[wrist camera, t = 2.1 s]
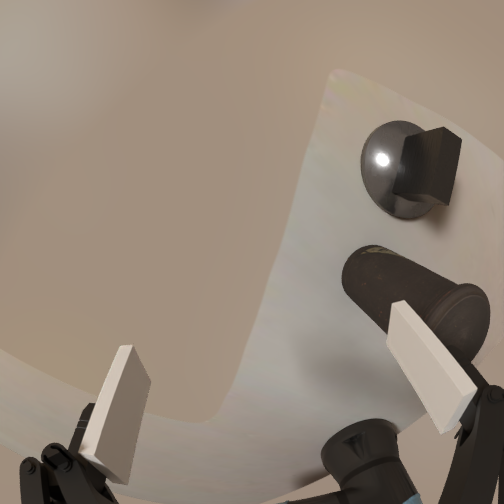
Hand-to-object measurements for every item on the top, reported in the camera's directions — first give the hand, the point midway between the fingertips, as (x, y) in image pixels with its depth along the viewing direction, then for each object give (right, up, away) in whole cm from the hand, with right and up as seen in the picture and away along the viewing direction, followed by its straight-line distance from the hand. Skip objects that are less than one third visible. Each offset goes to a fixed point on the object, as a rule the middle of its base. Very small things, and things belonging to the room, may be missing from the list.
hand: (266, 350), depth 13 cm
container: (+15, +2, +23) cm, 28 cm away
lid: (+20, +16, +21) cm, 32 cm away
